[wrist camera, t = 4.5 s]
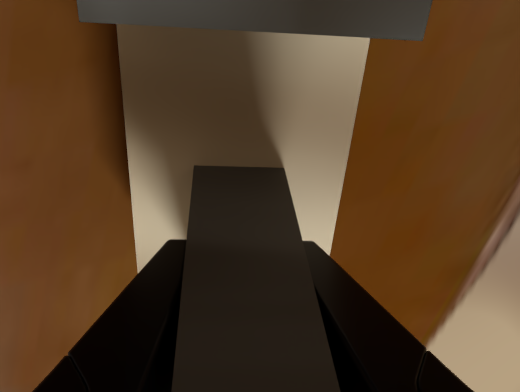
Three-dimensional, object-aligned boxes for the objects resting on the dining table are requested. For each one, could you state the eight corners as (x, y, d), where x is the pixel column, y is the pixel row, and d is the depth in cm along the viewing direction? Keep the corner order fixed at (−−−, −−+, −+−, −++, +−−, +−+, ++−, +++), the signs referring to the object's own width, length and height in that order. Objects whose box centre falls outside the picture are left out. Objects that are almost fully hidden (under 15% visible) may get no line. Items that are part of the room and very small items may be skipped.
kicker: (314, 249, 14) (399, 547, 7) (146, 248, 13) (78, 565, 7) (367, -67, 9) (670, -14, 3) (122, -86, 9) (-114, -71, 3)
